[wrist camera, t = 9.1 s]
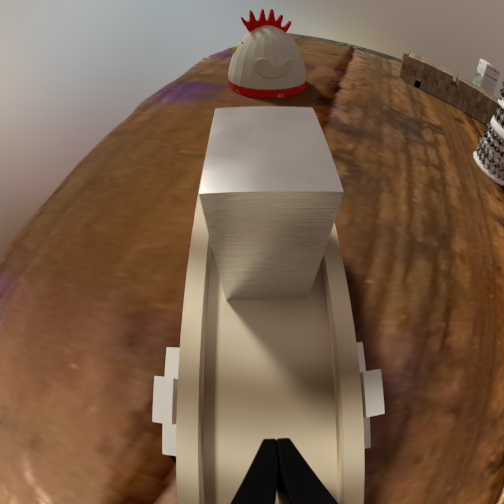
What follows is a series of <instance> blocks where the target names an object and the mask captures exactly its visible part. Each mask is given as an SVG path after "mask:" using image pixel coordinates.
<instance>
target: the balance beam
mask: <svg viewBox="0 0 504 504" xmlns="http://www.w3.org/2000/svg"><path fill="white" fill-rule="evenodd" d="M202 173H203V169H202ZM201 179H202V175H201ZM200 184H201V180H200ZM199 190H200V186H199ZM272 438H274V439H276V440H277V439H278V438H290V439H291V441H292V442H293V444H294V445H295V446H296V448H297V449H298V451H299V452H300V453H301V455H302V456H303V458H304V459H305V460H306V462H307V463H308V465H309V466H310V467H311V469H312V470H313V471H314V473H315V474H316V475H317V477H318V478H319V479H320V481H321V482H322V483H323V485H324V486H325V487H326V488H327V490H328V491H329V492H330V493H331V495H332V496H333V497H334V499H335V500H336V501H337V502H338V504H364V477H365V452H364V422H363V405H362V391H361V380H360V370H359V361H358V352H357V344H356V336H355V329H354V322H353V315H352V309H351V303H350V297H349V291H348V286H347V280H346V275H345V270H344V264H343V259H342V255H341V250H340V245H339V241H338V236H337V232H336V227H335V223H334V225H333V228H332V231H331V234H330V237H329V240H328V243H327V246H326V248H325V251H324V254H323V257H322V260H321V263H320V266H319V268H318V271H317V274H316V277H315V279H314V282H313V285H312V287H311V290H310V293H309V295H308V298H300V299H269V300H226V297H225V294H224V290H223V287H222V283H221V279H220V275H219V272H218V268H217V264H216V260H215V257H214V253H213V249H212V245H211V241H210V237H209V233H208V229H207V225H206V221H205V217H204V213H203V209H202V205H201V200H200V196H199V192H198V198H197V204H196V210H195V217H194V224H193V230H192V237H191V245H190V252H189V260H188V268H187V277H186V285H185V295H184V304H183V315H182V326H181V339H180V352H179V368H178V388H177V417H176V475H177V501H178V504H230V503H231V501H232V500H233V498H234V496H235V494H236V492H237V490H238V489H239V487H240V485H241V483H242V481H243V479H244V477H245V475H246V473H247V471H248V469H249V467H250V465H251V463H252V461H253V459H254V457H255V455H256V453H257V451H258V449H259V447H260V445H261V443H262V441H263V439H272ZM275 504H279V502H278V496H277V494H276V502H275Z"/></svg>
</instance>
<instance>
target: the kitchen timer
mask: <svg viewBox="0 0 504 504" xmlns="http://www.w3.org/2000/svg"><path fill="white" fill-rule="evenodd" d="M241 19H242V21H243V23H244V25H245V26H246V27H247V29H248V31H249V32H248V33H247V34H246V35H245V36H244V37H243V38H242V39H241V40H240V42H239V44H238V45H237V46H236V47H235V48H234V49H233V50H232V52H233V56H232V59H231V63H230V67H229V73H228V78H229V87H230V89H231V90H233V91H234V92H236V93H238V94H241V95H245V96H250V97H258V98H281V97H289V96H293V95H297V94H299V93H301V92H303V91H304V89H305V88H306V70H305V66H304V62H303V58H302V55H301V52H300V50H299V48H298V46H297V45H296V43H295V42H294V40H293V39H292V38H291V37H290V36H289V35H288V34H287V33H286V31H287V30H288V28H289V27H290V25H291V21H289V22H288V23H287V24H286V25H285V26H284V27H281V22H282V19H283V16H282V15H280V16H279V17H278V19H277V20H276V21H275V18H274V12H273V10H272V9H271V10H270V13H269V17H268V20H266V19H265V14H264V10H263V9H262V10H261V13H260V18H259V20H258V21H256V20H255V17H254V15H253V13H252V11H251V10H250V20H249V21H248V22H247V21H245V20H244V19H243V18H242V17H241Z"/></svg>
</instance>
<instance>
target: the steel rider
mask: <svg viewBox="0 0 504 504" xmlns="http://www.w3.org/2000/svg"><path fill="white" fill-rule="evenodd" d="M343 193H344V191H343V188H342V185H341V182H340V179H339V176H338V173H337V170H336V167H335V164H334V161H333V158H332V156H331V153H330V150H329V147H328V145H327V142H326V139H325V137H324V134H323V132H322V129H321V126H320V124H319V121H318V119H317V116H316V114H315V112H314V109H313V108H310V107H279V106H262V107H231V108H215V113H214V117H213V122H212V127H211V132H210V136H209V141H208V146H207V152H206V157H205V162H204V167H203V173H202V179H201V184H200V190H199V196H200V200H201V205H202V209H203V213H204V217H205V221H206V225H207V229H208V233H209V237H210V241H211V245H212V249H213V253H214V257H215V260H216V264H217V268H218V272H219V275H220V279H221V283H222V287H223V290H224V294H225V297H226V300H269V299H300V298H308V295H309V293H310V290H311V287H312V285H313V282H314V279H315V277H316V274H317V271H318V268H319V266H320V263H321V260H322V257H323V254H324V251H325V248H326V246H327V243H328V240H329V237H330V234H331V231H332V228H333V225H334V221H335V218H336V215H337V212H338V209H339V206H340V202H341V199H342V196H343Z"/></svg>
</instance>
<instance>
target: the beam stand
mask: <svg viewBox="0 0 504 504" xmlns="http://www.w3.org/2000/svg"><path fill="white" fill-rule="evenodd" d="M356 344H357V352H358V361H359V370H360V380H361V391H362V405H363V422H364V449H366V448H370V447H371V436H370V417H372V416H376V415H381V414H385V409H384V396H383V385H382V375H381V369H377V370H371V371H366V366H365V357H364V349H363V342H357V343H356ZM179 352H180V348H173V347H167V350H166V363H165V377H160V376H154V393H153V418H152V422H157V423H163V434H162V454H165V455H172V456H176V417H177V388H178V368H179Z"/></svg>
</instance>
